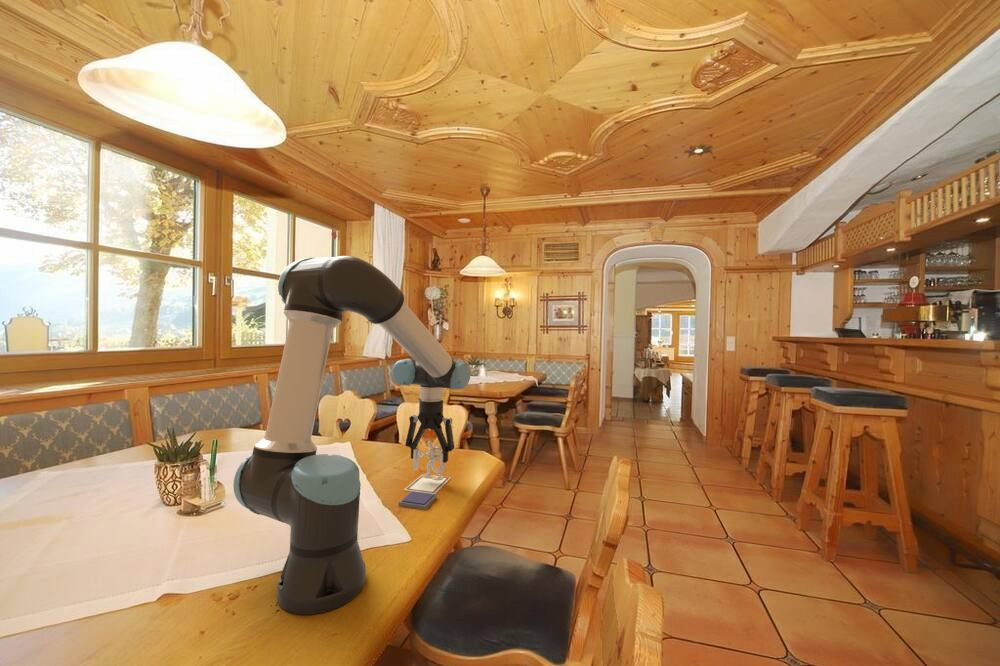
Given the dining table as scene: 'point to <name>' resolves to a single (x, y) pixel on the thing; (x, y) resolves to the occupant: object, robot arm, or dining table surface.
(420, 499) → the ink pad
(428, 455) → the figurine
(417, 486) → the print sheet
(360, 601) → the dining table surface
